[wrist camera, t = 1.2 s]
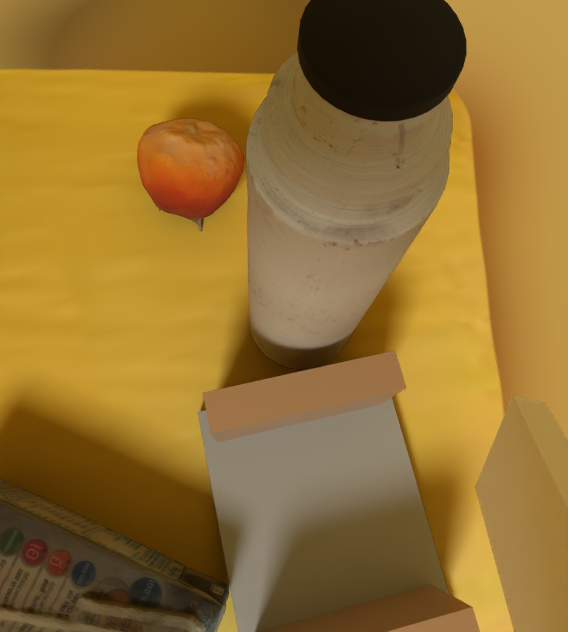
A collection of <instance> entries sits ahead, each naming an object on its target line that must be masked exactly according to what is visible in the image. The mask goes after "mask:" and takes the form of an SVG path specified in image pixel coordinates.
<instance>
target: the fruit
mask: <svg viewBox="0 0 568 632" xmlns="http://www.w3.org/2000/svg"><path fill="white" fill-rule="evenodd" d="M243 161H244V156H243V154H242V152H241V150H240V148H239V146H238V145H237V143H236V142H235V141H234V140H233V139H232V138H231V137H230V135H229V134H228V133H227V132H226V131H225V130H223V129H221V128H220V127H216V126H215V125H214V124H212V123H210V122H207V121H203V120H198V119H194V118H187V119H176V120H171V121H167V122H162V123H158V124H155V125H152V126H151V127H149V128H148V129H147V130H146V131H145V132H144V134H143V136H142V137H141V139H140V141H139V144H138V150H137V162H138V169H139V173H140V177H141V181H142V184H143V186H144V188H145V189H146V191H147V192H148V194H149V195H150V197H151V198H152V200H153V202H154V203H155V204H156V206H157V207H158V208H159V211H160V210H163V211H165V212H167V213H171V214H176V215H179V216H182V217H185V218H187V219H190V220H192V221H194V222H196V223H197V224H198V225H199V229H200V231H202V219H203V218H204V217H207V216H209V215H211V214H213V213H214V211H215V210H217V209H218V208H219V207H221V206H222V205H223V204H224V203H225V202H226V201H227V199H228V198H229V197H230V195H231V194H232V193H233V191H234V189H235V187H236V185H237V183H238V181H239V178H240V176H241V173H242V171H243Z"/></svg>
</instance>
